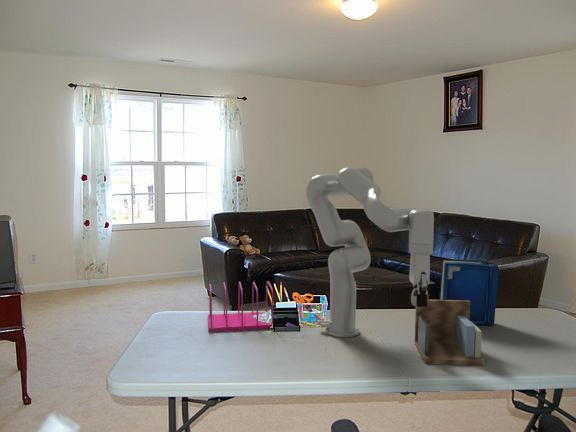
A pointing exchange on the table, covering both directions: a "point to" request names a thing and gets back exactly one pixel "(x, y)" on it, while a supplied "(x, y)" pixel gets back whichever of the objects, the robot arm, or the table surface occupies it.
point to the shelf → (444, 332)
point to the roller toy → (415, 297)
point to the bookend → (423, 335)
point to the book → (471, 287)
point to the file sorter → (237, 314)
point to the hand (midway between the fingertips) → (419, 303)
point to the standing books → (468, 337)
